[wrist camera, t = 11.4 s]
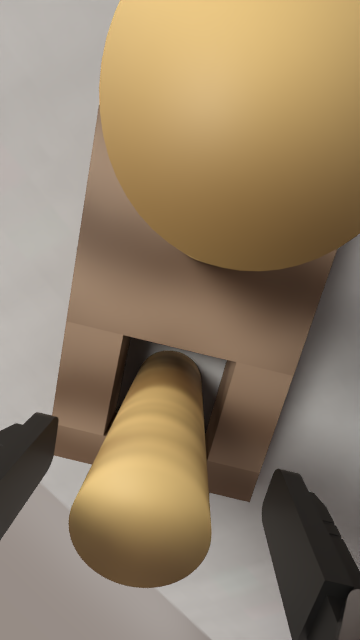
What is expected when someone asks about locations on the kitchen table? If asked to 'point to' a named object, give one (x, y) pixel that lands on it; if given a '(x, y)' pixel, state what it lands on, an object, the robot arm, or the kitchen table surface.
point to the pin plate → (181, 320)
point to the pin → (149, 482)
